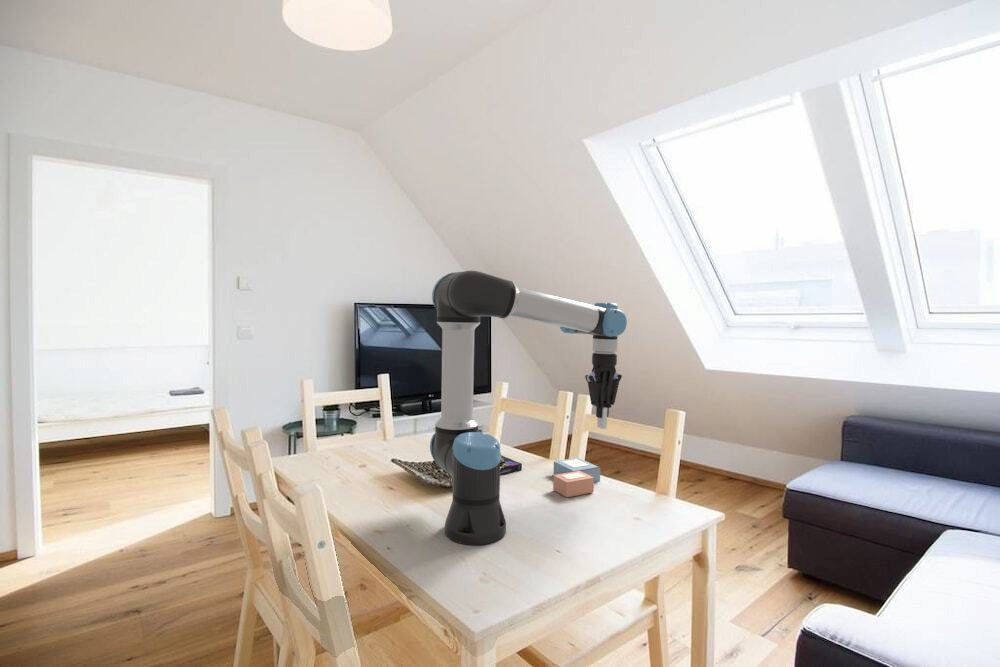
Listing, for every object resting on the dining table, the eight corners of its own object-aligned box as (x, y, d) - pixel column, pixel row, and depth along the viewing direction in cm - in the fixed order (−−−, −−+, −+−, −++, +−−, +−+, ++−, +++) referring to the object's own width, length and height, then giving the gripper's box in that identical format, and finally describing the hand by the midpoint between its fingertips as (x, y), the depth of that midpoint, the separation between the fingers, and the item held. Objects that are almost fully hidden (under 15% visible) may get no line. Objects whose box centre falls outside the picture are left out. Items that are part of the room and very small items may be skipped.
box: (475, 484, 160) (522, 472, 171) (475, 473, 159) (522, 462, 171) (452, 472, 171) (498, 461, 182) (452, 462, 170) (498, 451, 182)
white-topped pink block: (593, 492, 151) (593, 477, 151) (566, 497, 147) (566, 481, 146) (579, 484, 157) (579, 470, 157) (553, 489, 153) (553, 474, 153)
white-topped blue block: (599, 481, 162) (600, 467, 162) (574, 485, 157) (575, 471, 157) (577, 470, 173) (577, 457, 172) (553, 474, 168) (553, 460, 168)
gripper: (612, 351, 161) (610, 423, 162) (580, 351, 155) (577, 426, 156) (629, 353, 155) (626, 428, 156) (595, 354, 149) (593, 432, 150)
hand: (601, 427), depth 156 cm, fingers closed
